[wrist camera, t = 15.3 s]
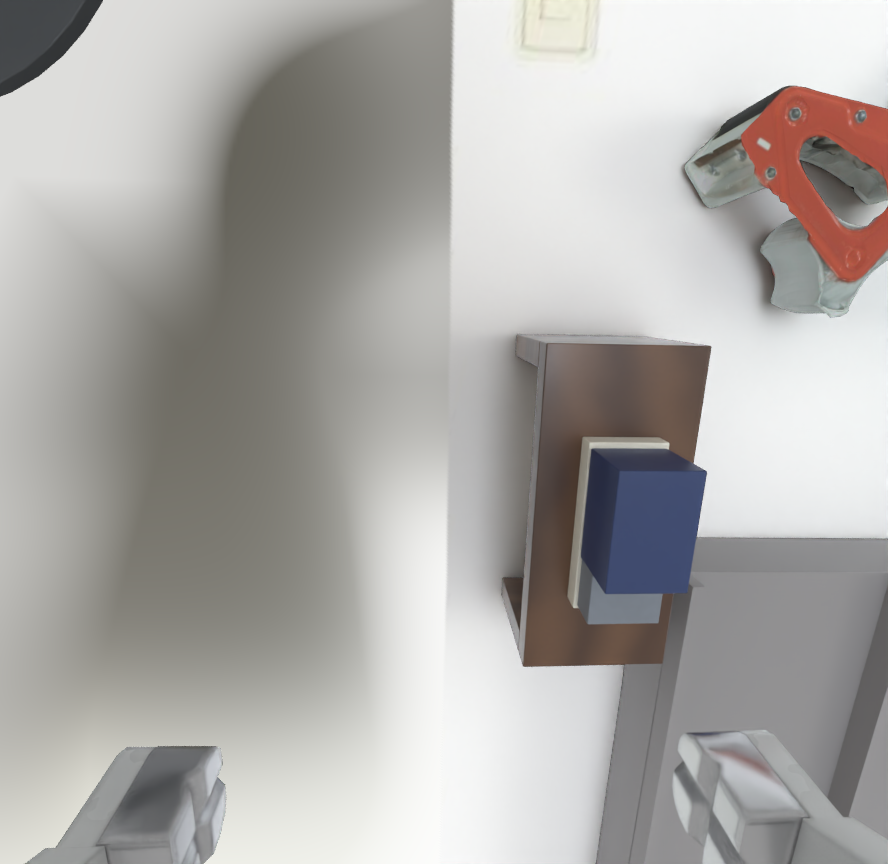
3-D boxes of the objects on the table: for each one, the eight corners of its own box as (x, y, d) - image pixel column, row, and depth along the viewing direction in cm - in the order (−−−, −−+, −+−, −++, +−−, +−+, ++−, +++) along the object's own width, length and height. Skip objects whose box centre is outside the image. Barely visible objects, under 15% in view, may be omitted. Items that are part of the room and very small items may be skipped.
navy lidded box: (582, 436, 28) (618, 464, 23) (659, 437, 28) (711, 464, 23) (566, 596, 30) (596, 653, 25) (638, 595, 30) (680, 651, 25)
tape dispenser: (983, 44, 32) (697, 18, 30) (1096, -10, 27) (762, -47, 25) (928, 321, 36) (668, 318, 34) (1020, 319, 31) (721, 315, 28)
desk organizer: (1021, 539, 40) (1142, 586, 34) (893, 903, 50) (968, 996, 43) (643, 537, 38) (691, 587, 32) (587, 916, 48) (616, 1016, 41)
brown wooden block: (501, 594, 39) (522, 667, 31) (516, 333, 34) (546, 342, 26) (614, 593, 39) (663, 664, 32) (645, 336, 34) (712, 346, 27)
